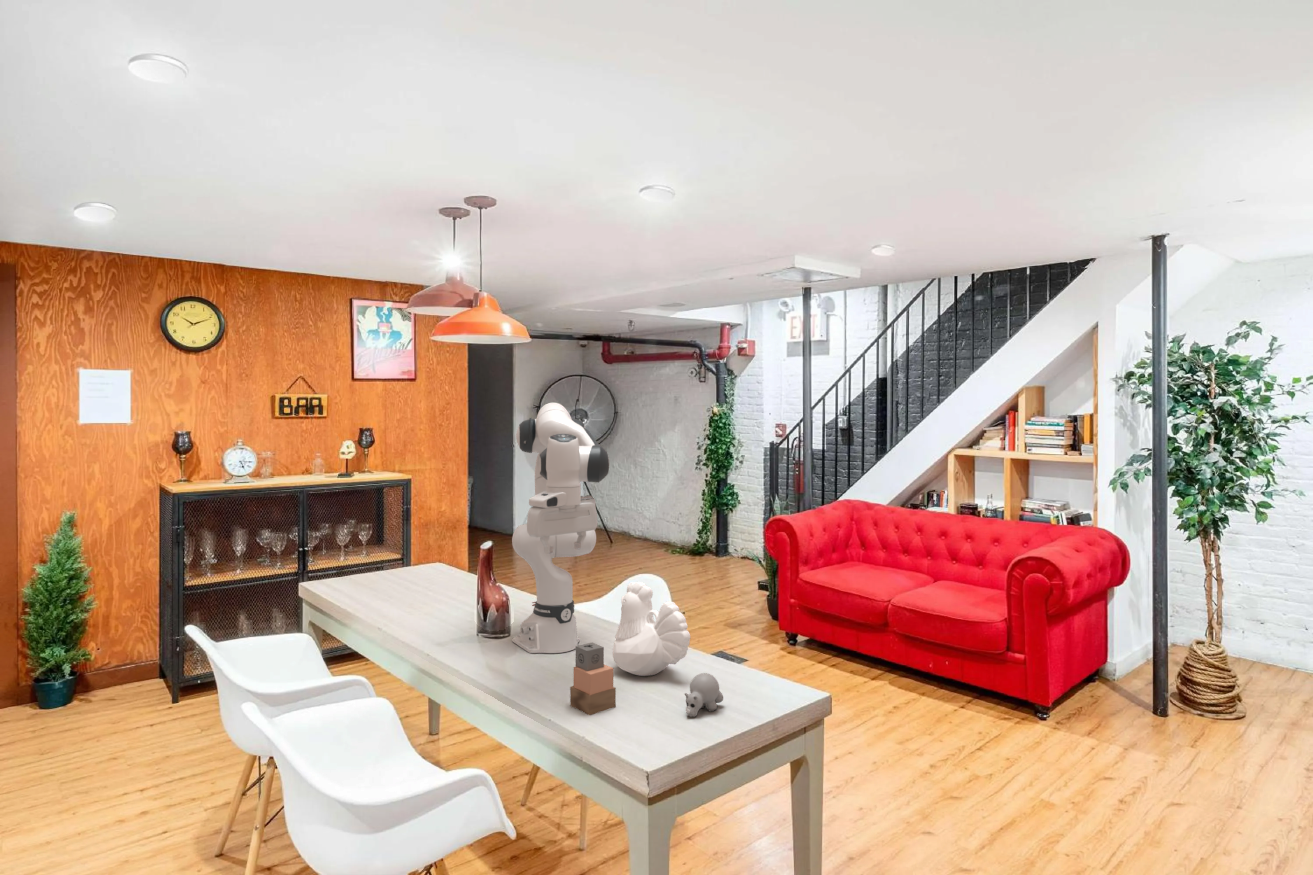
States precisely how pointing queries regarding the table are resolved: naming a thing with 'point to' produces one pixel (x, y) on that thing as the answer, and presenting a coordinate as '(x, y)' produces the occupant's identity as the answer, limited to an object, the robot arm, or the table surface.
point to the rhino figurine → (703, 694)
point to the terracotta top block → (593, 679)
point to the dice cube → (589, 656)
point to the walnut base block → (592, 700)
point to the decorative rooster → (648, 633)
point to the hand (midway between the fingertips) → (563, 551)
